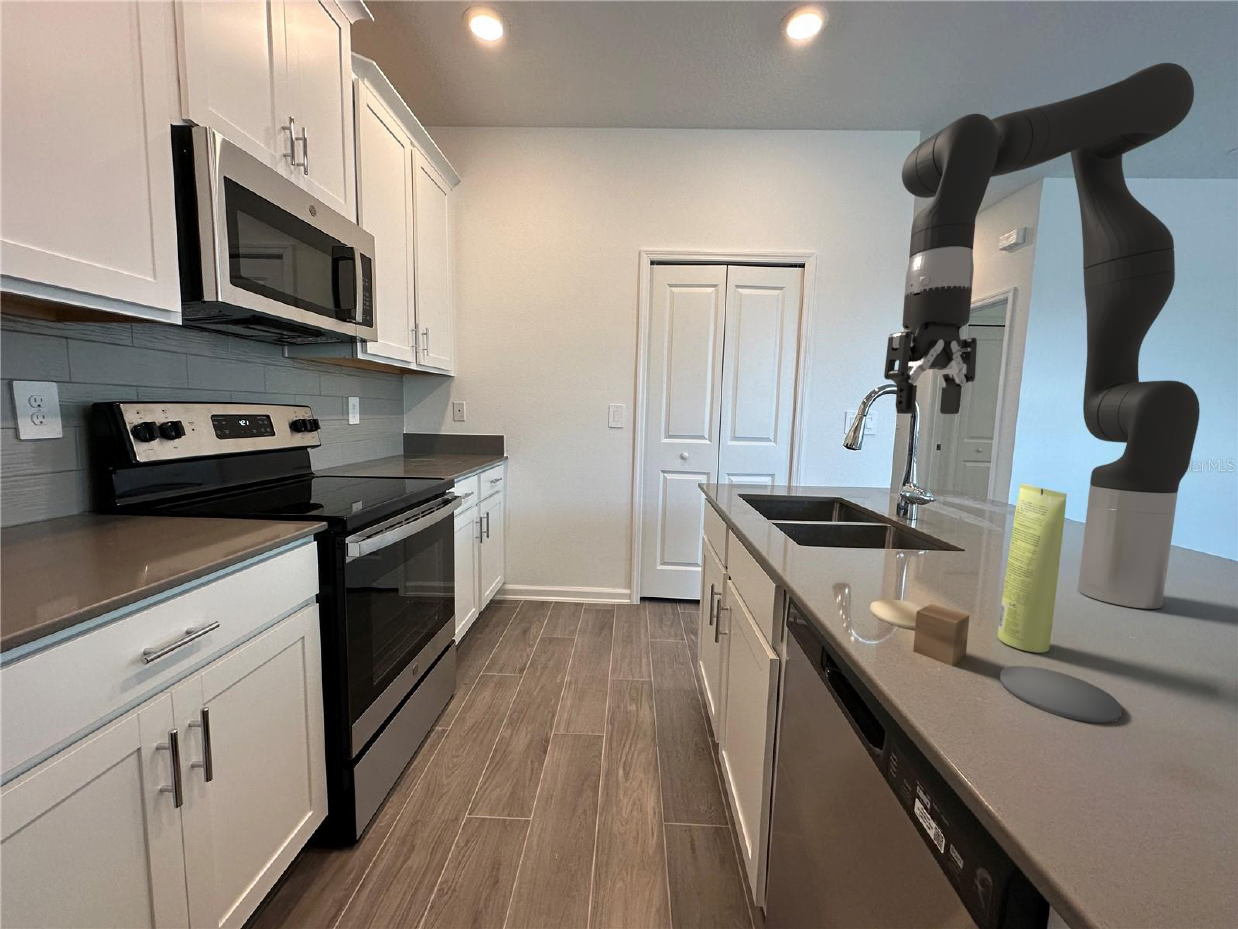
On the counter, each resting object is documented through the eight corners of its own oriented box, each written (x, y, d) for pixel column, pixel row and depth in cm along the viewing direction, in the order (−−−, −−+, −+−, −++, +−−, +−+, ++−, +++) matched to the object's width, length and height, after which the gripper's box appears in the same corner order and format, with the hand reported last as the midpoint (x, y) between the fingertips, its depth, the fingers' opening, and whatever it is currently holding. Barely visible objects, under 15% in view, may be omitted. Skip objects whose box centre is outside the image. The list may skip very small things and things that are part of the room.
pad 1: (901, 600, 73) (901, 596, 73) (961, 624, 65) (961, 620, 65) (855, 608, 70) (856, 604, 70) (913, 635, 62) (913, 630, 62)
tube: (1062, 649, 58) (1081, 489, 56) (1047, 660, 56) (1066, 492, 54) (1005, 631, 63) (1020, 482, 61) (989, 641, 60) (1004, 485, 58)
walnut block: (927, 642, 60) (931, 603, 59) (965, 656, 57) (969, 615, 56) (913, 651, 57) (916, 611, 57) (951, 666, 54) (955, 623, 54)
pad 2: (1033, 665, 55) (1033, 660, 55) (1141, 711, 46) (1142, 705, 46) (979, 679, 51) (980, 674, 51) (1086, 732, 43) (1087, 725, 43)
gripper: (946, 301, 70) (937, 414, 72) (873, 291, 65) (865, 413, 67) (1003, 289, 63) (991, 414, 65) (926, 277, 58) (916, 413, 60)
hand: (927, 413), depth 66 cm, fingers open, 8 cm apart
